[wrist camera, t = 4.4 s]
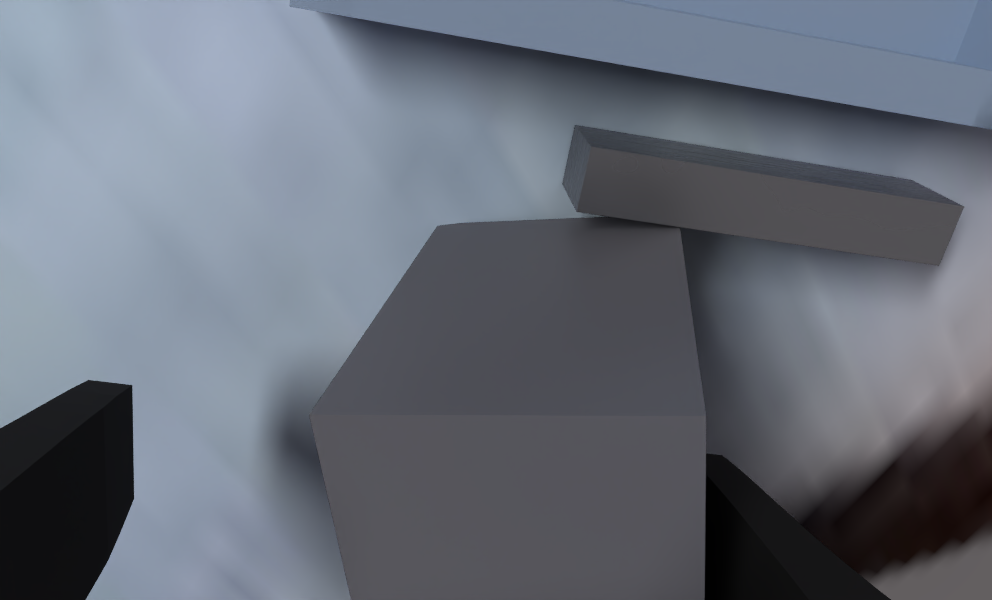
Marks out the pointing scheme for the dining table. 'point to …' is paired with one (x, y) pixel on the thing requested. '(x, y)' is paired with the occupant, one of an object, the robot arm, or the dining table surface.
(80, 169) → the dining table surface
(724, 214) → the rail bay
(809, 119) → the dining table surface
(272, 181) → the dining table surface
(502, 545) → the grey bar
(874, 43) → the tray
